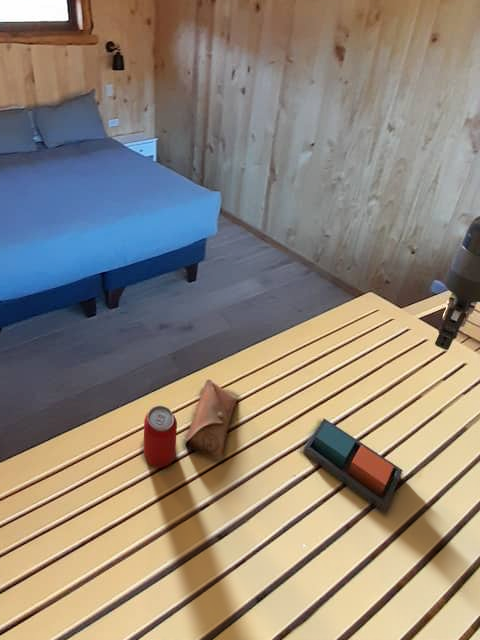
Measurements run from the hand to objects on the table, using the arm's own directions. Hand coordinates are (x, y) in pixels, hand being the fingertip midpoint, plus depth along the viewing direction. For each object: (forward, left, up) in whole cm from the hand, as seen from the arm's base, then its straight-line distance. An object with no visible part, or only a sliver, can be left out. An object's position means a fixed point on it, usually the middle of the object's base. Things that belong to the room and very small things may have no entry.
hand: (446, 335), depth 81 cm
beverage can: (+34, +48, -26) cm, 64 cm away
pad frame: (+5, +21, -26) cm, 34 cm away
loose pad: (+2, +21, -25) cm, 33 cm away
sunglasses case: (+31, +33, -26) cm, 52 cm away
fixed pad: (+9, +21, -25) cm, 34 cm away
